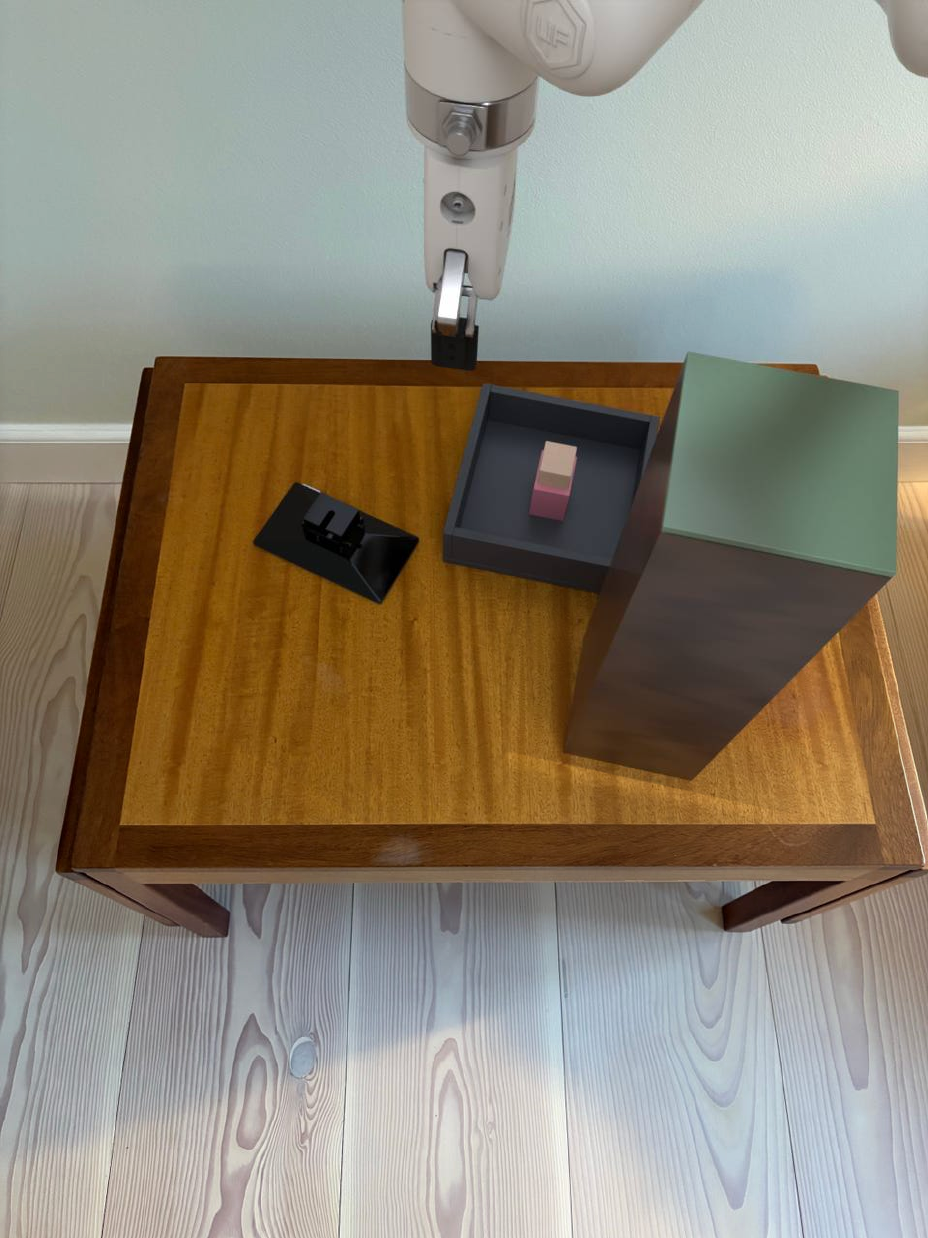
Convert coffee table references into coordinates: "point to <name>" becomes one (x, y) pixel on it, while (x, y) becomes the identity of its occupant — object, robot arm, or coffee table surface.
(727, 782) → the coffee table surface
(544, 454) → the pink block
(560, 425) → the basin
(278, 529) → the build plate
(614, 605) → the stand
